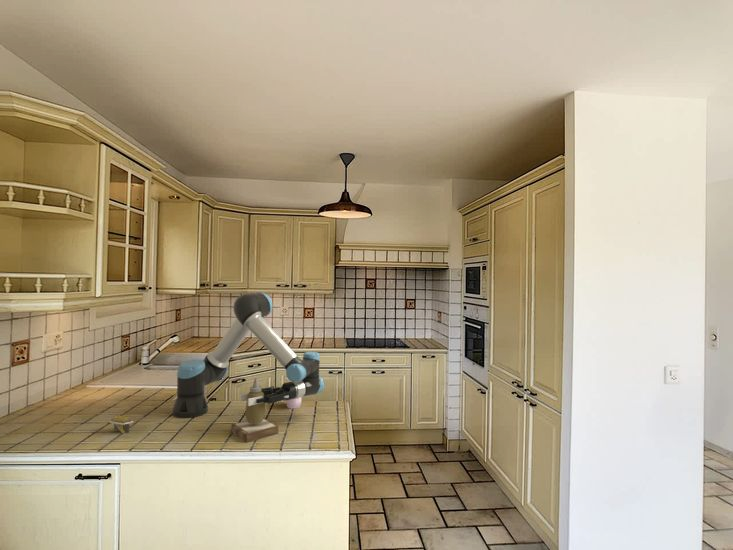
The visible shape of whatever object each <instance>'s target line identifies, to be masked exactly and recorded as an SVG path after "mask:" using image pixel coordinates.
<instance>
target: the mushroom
mask: <svg viewBox="0 0 733 550" xmlns="http://www.w3.org/2000/svg"><path fill="white" fill-rule="evenodd" d="M302 400H303V399H302V397H299V399H297V398H294V399H291V400H285V403H286V408H288V409H292V410H293V409H294V410H295V409H299V408H300V407H301V405H302Z"/></svg>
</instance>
